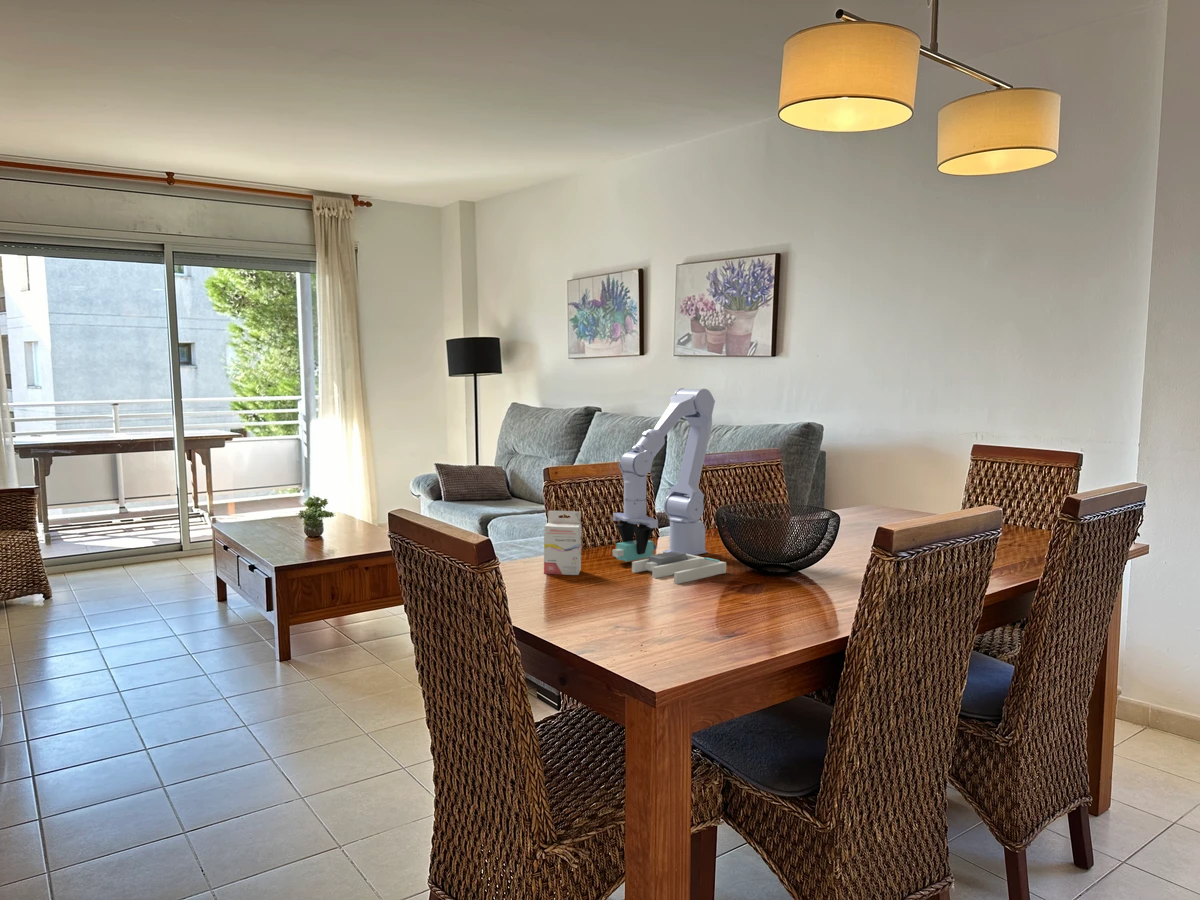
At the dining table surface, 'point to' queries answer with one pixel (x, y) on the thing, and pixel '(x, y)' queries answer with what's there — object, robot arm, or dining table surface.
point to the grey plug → (664, 559)
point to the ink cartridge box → (562, 543)
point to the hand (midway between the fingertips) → (634, 552)
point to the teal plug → (632, 551)
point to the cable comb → (684, 568)
